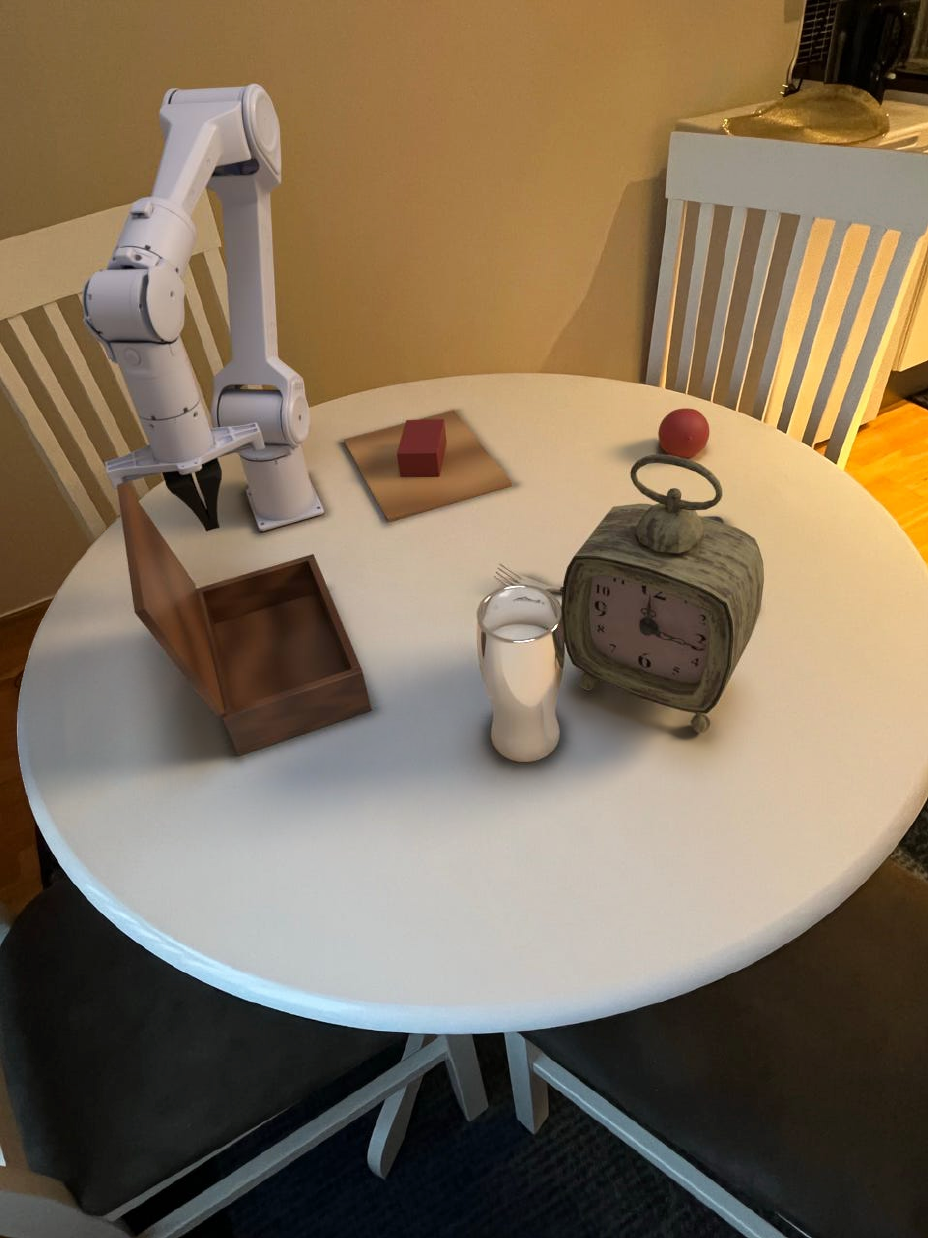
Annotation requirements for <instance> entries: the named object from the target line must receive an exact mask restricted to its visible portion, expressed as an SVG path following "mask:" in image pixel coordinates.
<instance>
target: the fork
mask: <svg viewBox="0 0 928 1238" xmlns="http://www.w3.org/2000/svg"><path fill="white" fill-rule="evenodd" d="M498 565H499V566H501V567H502V568H504V569H505V570H506V571H505V570H504V569H502V568H500V567H497V570H499V571H500V572H501V573H503V574H505V575H506V576H507V577H506V576H505V575H503V574H501V573H499V572H498V571H495V574H497V575H498V576H499V577H500V578H503V579H504V580H505V581H504V580H502V579H500V578H499V577H497V576H495V575H493V578H495V580H497V581H499V582H500V583H502V584H503V585H505V586H510V585H518V584H524V585H532V586H537V587H540V588H542V589H545V590H547V591H556V592H561V593H563V586H552V585H549V584H545V583H543V582H539V581H538V580H535V579H532V578H529V577H526V576H524V575H521V574H519V573H518V572H516V571H514V570H513V569H511V568H509V567H507V566H506V565H504V564H502V563H499V564H498ZM507 571H508V572H510V573H511V574H510V573H508V572H507ZM512 574H513V575H512ZM510 578H511V579H510ZM512 579H513V580H512ZM506 581H507V582H506ZM508 582H509V583H510V584H509V583H508Z"/></svg>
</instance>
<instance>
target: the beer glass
mask: <svg viewBox="0 0 928 1238" xmlns="http://www.w3.org/2000/svg"><path fill="white" fill-rule="evenodd" d="M509 585H510V586H506V585H505V586H501V587H499V588H497V589H495V590H493V591H491V592H490V593H488V594H487V595H486V596H485V597H484V598H483V599H482V600H481V601H480V602H479V605H478V606H477V609H476V648H477V649H476V650H477V659H478V666H479V671H480V674H481V677H482V682H483V684H484V687H485V690H486V693H487V695H488V698H489V700H490V701H489V702H490V703H491V707H492V711H493V712H492V713H493V717H492V723H491V727H490V728H491V729H490V739H491V743H492V745H493V747H494V748H495V750H496V751H497V752H498V753H499V755H501V756H503V757H504V758H506V759H508V760H510V761H513V762H518V763H532V762H536V761H539V760H542V759H544V758H546V757H547V756H549V755H550V754H551V753H553V751H554V750H555V749H556V748H557V745H558V744H559V742H560V737H561V736H560V735H561V734H560V731H561V730H560V726H559V722H558V719H557V716H556V702H557V698H558V694H559V691H560V686H561V683H562V678H563V673H564V668H565V655H566V646H565V641H564V629H563V621H562V608H561V603H560V601H559V599H558V598H557V597H556V596H555V595H554V594H552V592H551V591H549V590H545V589H542V588H540V587H537V586H532V585H524V584H519V583H518V585H513V584H509Z"/></svg>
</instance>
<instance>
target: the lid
mask: <svg viewBox="0 0 928 1238" xmlns="http://www.w3.org/2000/svg"><path fill="white" fill-rule="evenodd" d="M117 495H118V497H117V498H118V503H119V511H120V517H121V525H122V532H123V539H124V545H125V552H126V561H127V567H128V575H129V581H130V582H129V583H130V588H131V590H130V591H131V596H132V603H133V610H134V611H133V612H134V614H135V615H136V616H137V618H138V619H139V620H140V621H141V622H142V624H143V625H144V626H145V628H146V629H147V630H148V631H149V633H150V634H151V636H153V638H154V639H155V641H156V642H157V643H158V644H159V646H160V647H161V648H162V650H163V651H164V652H165V653H166V655H167V656H168V657H169V658H170V660H171V661H172V663H174V664H175V666H176V667H177V669H178V670H179V671H180V672H181V674H182V675H183V676H184V677H185V678H186V680H187V681H188V683H189V684H190V685H191V686H192V688H193V689H194V690H195V692H196V693H197V694H198V695H199V697H201V699H202V700H203V701H204V703H205V704H206V705H207V707H208V708H209V709H210V710H211V711H212V713H213V714H214V715H215V717H219V716H222V714H224V713H225V711H224V706H223V702H222V698H221V693H220V689H219V685H218V680H217V676H216V672H215V667H214V663H213V659H212V654H211V650H210V646H209V641H208V637H207V633H206V628H205V624H204V620H203V616H202V611H201V607H200V603H199V598H198V594H197V590H196V589H197V586H196V585H197V584H196V583H195V582H194V580H193V579H192V577H191V576H190V574H189V573H188V571H187V570H186V569H185V567H184V566H183V564H182V563H181V561H180V560H179V559H178V557H177V555H176V553H175V552H174V551H173V550H172V548H171V547H170V545H169V544H168V542H167V541H166V539H165V538H164V536H163V535H162V533H161V532H160V531H159V529H158V527H157V526H156V524H155V523H154V522H153V520H152V518H151V517H150V516H149V515H148V513H147V511H146V510H145V509H144V507H143V505H142V504H141V503H140V501H139V500H138V498H137V497H136V496H135V494H134V492H133V491H132V490H131V488H130V486H129V485H128V483H127V482H123V483H120V484H118V485H117Z"/></svg>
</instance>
